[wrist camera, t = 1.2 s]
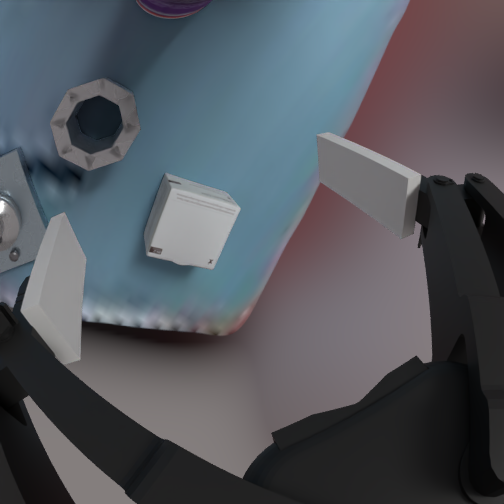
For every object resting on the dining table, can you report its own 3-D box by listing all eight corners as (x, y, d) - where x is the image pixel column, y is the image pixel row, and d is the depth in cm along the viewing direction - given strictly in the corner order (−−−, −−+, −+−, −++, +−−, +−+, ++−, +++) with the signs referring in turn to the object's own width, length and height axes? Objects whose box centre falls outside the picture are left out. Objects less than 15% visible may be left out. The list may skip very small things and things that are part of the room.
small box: (228, 190, 36) (243, 208, 32) (202, 248, 39) (213, 272, 35) (164, 170, 32) (171, 186, 28) (141, 234, 35) (145, 258, 31)
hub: (58, 94, 23) (44, 98, 19) (128, 71, 25) (129, 70, 21) (75, 160, 28) (66, 178, 23) (142, 139, 29) (146, 152, 25)
